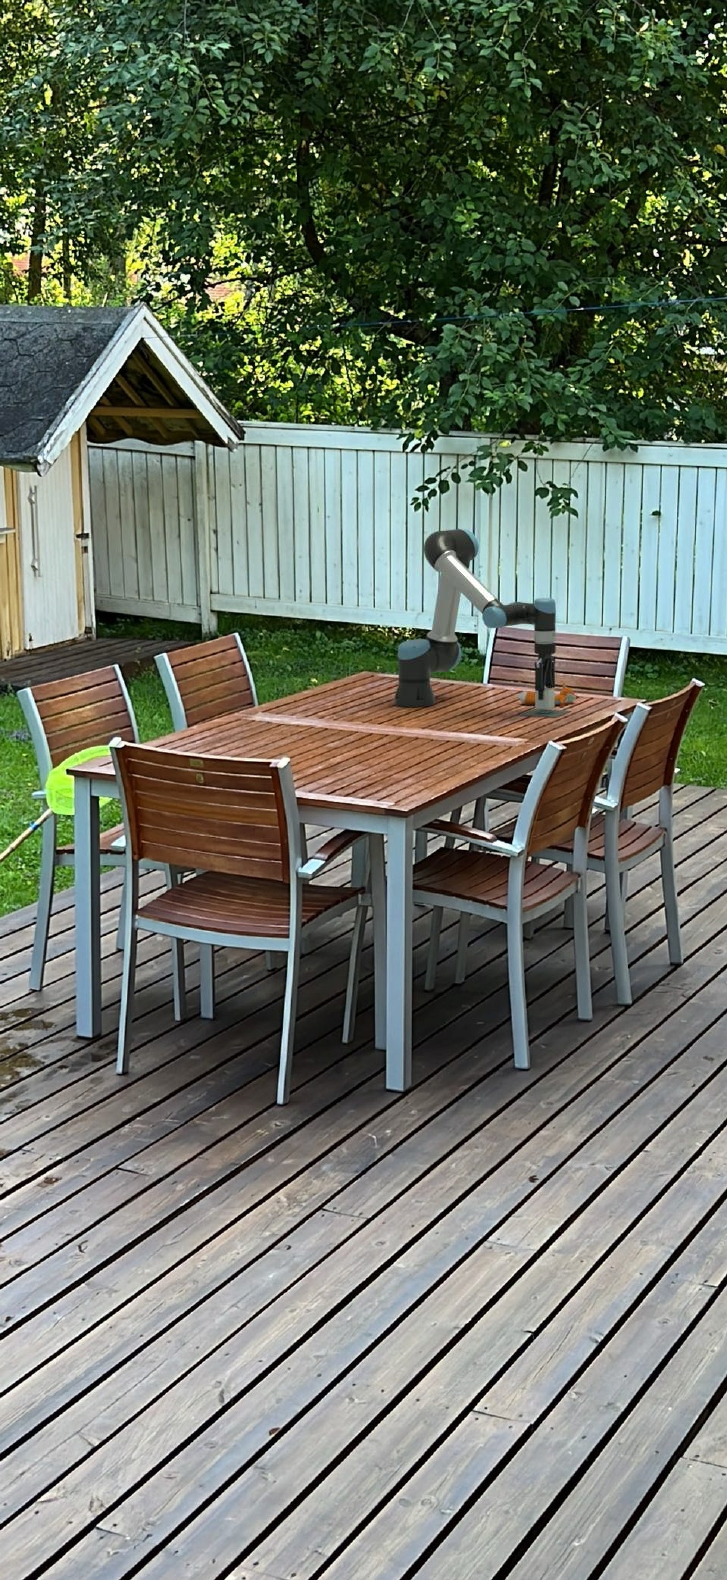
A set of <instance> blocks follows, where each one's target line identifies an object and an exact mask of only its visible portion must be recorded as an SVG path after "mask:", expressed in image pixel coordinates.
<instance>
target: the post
mask: <svg viewBox="0 0 727 1580" xmlns="http://www.w3.org/2000/svg"><path fill="white" fill-rule="evenodd" d="M550 710H551V709H549V710H546V709H540V713H550Z"/></svg>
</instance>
